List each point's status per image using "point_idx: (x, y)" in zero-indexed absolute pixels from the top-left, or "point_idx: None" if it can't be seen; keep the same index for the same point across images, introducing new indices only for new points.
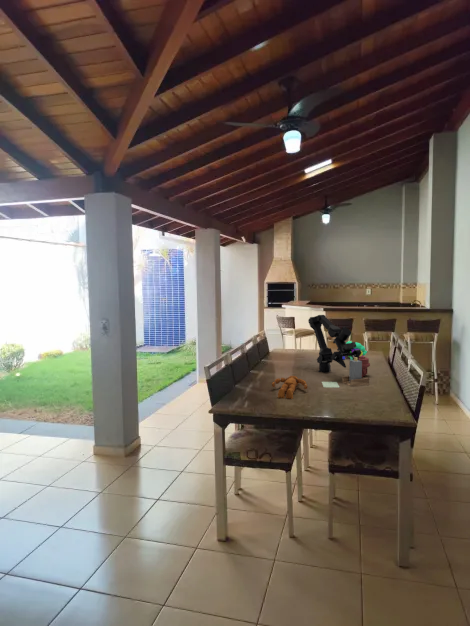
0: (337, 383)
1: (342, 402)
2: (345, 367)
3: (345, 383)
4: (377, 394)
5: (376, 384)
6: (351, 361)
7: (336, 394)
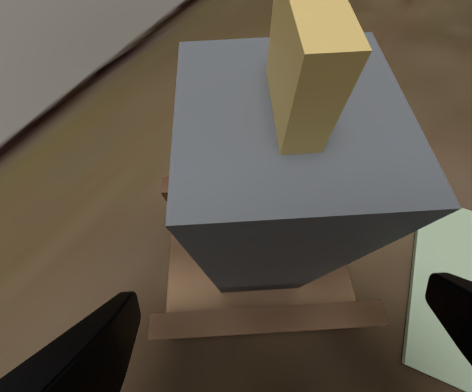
0: (411, 304)
1: (458, 21)
2: (430, 288)
3: (345, 266)
4: None
5: (120, 194)
6: (410, 130)
7: (467, 99)
